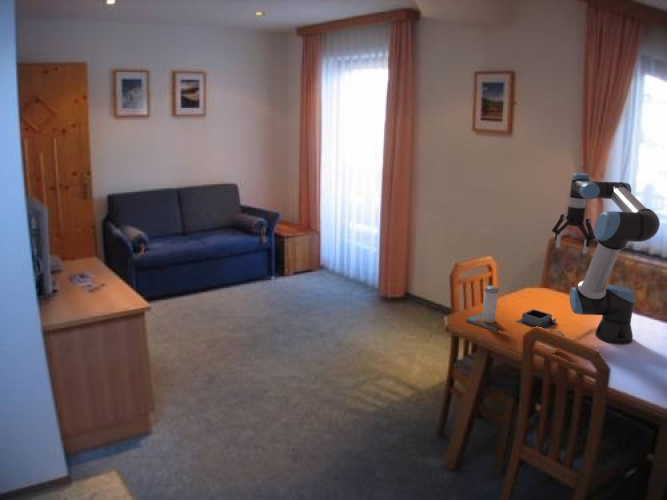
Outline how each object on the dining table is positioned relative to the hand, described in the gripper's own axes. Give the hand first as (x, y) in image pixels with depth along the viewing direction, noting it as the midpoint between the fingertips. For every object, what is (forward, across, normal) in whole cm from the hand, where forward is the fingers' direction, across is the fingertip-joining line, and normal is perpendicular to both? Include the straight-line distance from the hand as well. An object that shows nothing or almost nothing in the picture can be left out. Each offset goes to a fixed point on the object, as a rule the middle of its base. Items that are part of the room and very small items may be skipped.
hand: (571, 250), depth 303 cm
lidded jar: (+32, -18, +48) cm, 60 cm away
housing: (+32, 0, +26) cm, 41 cm away
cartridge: (+30, +16, +41) cm, 54 cm away
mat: (+32, +16, +41) cm, 54 cm away
